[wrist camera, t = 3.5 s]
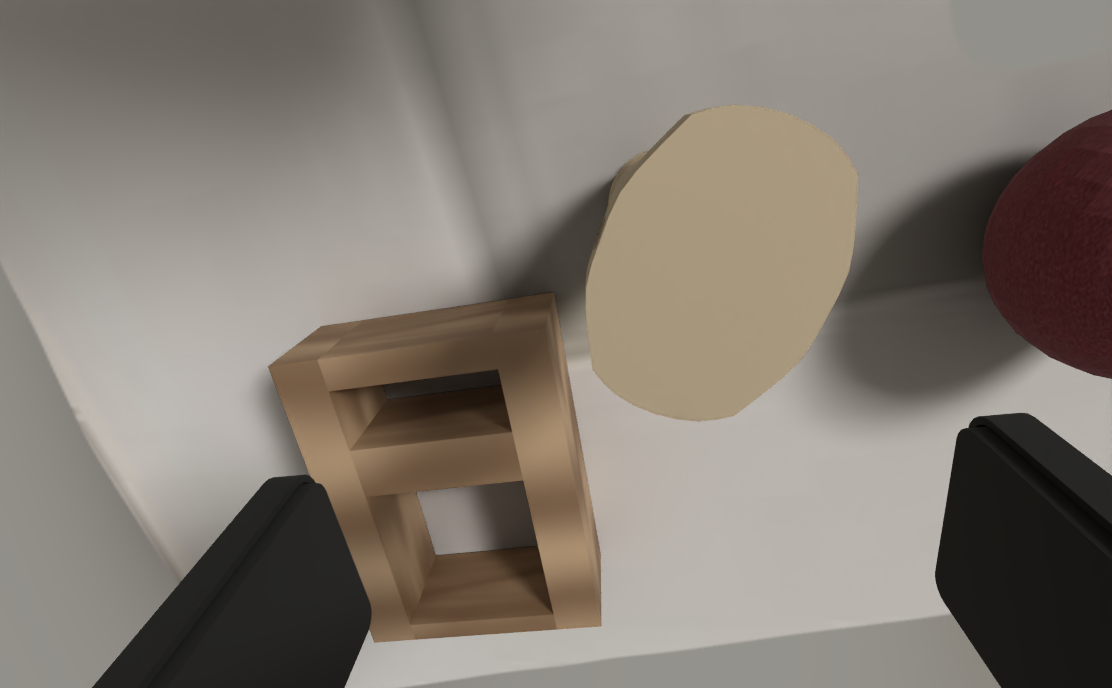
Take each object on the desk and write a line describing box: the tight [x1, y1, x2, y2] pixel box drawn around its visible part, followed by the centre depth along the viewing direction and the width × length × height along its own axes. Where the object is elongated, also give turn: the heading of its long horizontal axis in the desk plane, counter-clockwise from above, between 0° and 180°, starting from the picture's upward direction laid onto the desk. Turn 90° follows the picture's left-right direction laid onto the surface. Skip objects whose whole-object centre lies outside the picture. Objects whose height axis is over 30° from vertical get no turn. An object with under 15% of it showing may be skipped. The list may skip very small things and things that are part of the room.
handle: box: [585, 105, 858, 421], centre depth 18 cm, size 5×6×15 cm
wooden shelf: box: [268, 292, 601, 642], centre depth 28 cm, size 16×12×5 cm
